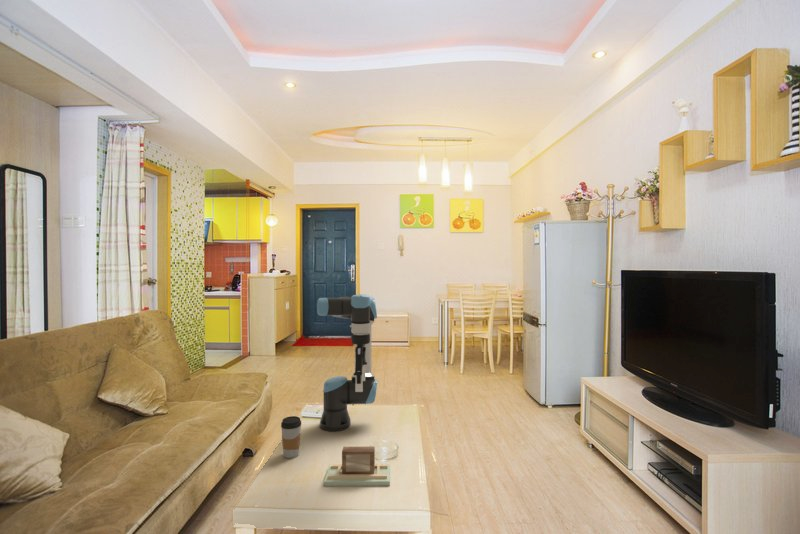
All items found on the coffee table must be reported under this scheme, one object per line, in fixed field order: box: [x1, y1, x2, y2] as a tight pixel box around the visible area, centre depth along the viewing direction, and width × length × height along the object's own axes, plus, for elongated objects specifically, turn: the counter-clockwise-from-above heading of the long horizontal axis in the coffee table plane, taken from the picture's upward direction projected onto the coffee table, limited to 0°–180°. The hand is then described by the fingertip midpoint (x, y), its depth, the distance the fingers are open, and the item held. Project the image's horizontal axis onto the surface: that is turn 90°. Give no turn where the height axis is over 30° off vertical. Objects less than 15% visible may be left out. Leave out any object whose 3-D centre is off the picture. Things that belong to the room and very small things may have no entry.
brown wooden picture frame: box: [341, 445, 376, 474], centre depth 148 cm, size 4×12×9 cm, turn 91°
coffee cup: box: [280, 415, 302, 459], centre depth 164 cm, size 8×8×15 cm
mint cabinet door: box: [323, 463, 391, 487], centre depth 148 cm, size 12×24×3 cm, turn 91°
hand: (360, 386), depth 156 cm, fingers open, 13 cm apart
